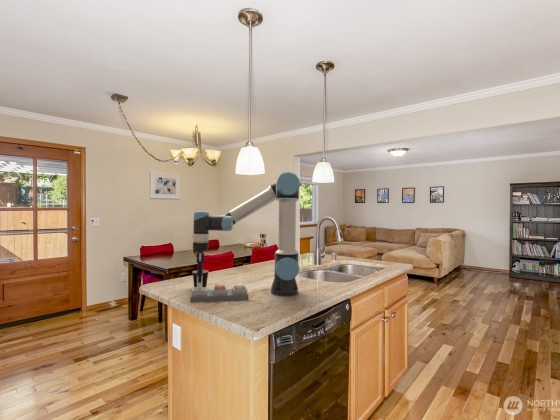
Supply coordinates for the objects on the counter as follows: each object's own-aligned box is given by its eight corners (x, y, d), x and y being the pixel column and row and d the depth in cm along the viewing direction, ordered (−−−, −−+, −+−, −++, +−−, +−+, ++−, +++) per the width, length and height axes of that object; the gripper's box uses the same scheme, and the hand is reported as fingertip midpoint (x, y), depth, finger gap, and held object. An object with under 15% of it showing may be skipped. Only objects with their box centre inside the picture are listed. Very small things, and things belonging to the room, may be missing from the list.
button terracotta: (224, 288, 162) (224, 284, 162) (224, 290, 157) (224, 286, 157) (214, 288, 161) (215, 284, 161) (215, 291, 156) (215, 286, 156)
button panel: (245, 293, 168) (245, 284, 168) (248, 299, 156) (248, 290, 156) (191, 295, 162) (192, 286, 162) (190, 302, 150) (190, 292, 150)
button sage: (204, 291, 160) (204, 287, 160) (204, 294, 155) (204, 290, 155) (194, 292, 159) (195, 287, 159) (194, 294, 154) (194, 290, 154)
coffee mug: (203, 291, 169) (204, 273, 169) (189, 290, 171) (189, 272, 171) (212, 286, 180) (213, 269, 180) (199, 285, 182) (199, 268, 182)
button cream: (243, 287, 164) (243, 283, 164) (244, 289, 160) (244, 285, 160) (234, 287, 163) (234, 283, 163) (235, 290, 158) (235, 286, 158)
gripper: (193, 240, 162) (192, 285, 162) (192, 243, 150) (191, 292, 150) (208, 240, 164) (207, 285, 164) (208, 243, 151) (207, 291, 151)
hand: (199, 288), depth 157 cm, fingers closed
